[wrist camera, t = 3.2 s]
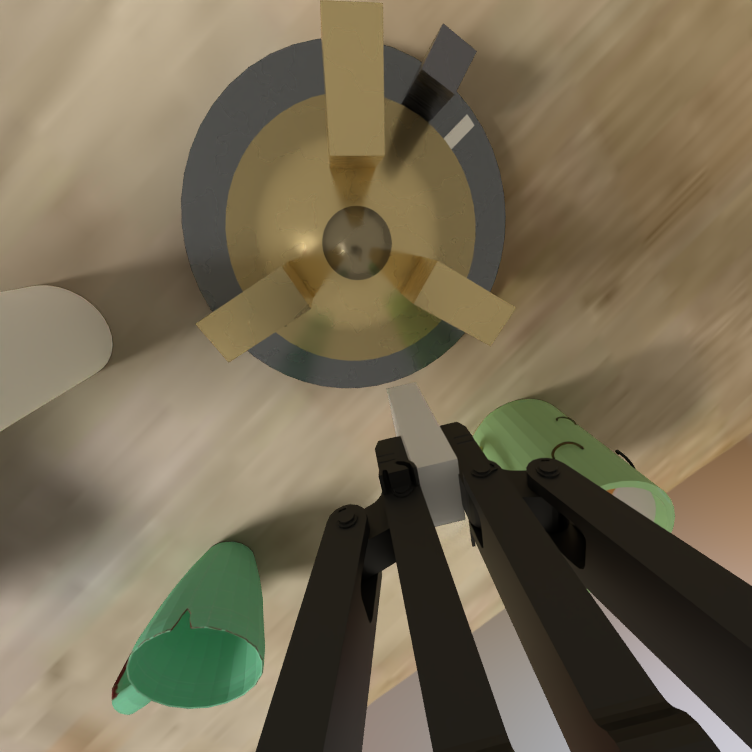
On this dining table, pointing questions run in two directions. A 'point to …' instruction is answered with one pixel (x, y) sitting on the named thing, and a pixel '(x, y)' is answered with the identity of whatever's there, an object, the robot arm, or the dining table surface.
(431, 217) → the three-jaw lathe chuck
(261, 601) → the mug
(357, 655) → the robot arm
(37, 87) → the dining table surface
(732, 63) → the dining table surface
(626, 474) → the mug
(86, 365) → the cylindrical container
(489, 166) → the ring
